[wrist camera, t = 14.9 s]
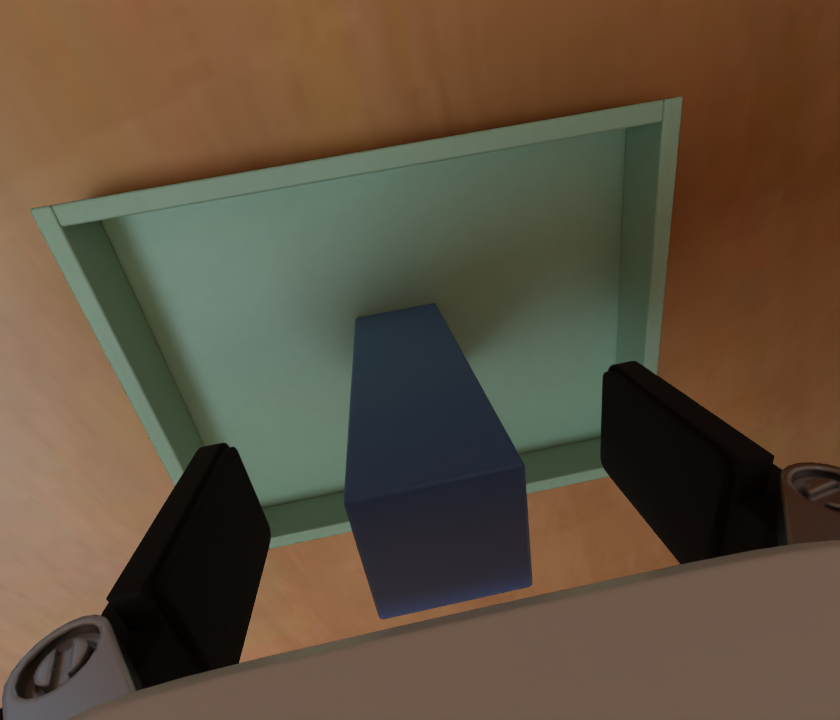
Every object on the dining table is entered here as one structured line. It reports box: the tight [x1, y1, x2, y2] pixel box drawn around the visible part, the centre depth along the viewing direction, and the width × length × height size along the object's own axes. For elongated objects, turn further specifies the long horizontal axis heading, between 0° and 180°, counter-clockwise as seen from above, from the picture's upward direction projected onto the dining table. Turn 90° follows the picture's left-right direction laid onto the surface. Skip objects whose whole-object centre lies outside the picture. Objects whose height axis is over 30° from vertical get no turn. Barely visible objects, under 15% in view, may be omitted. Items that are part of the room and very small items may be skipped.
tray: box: [30, 97, 682, 549], centre depth 16 cm, size 19×14×2 cm
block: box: [343, 303, 532, 619], centre depth 12 cm, size 3×3×10 cm
